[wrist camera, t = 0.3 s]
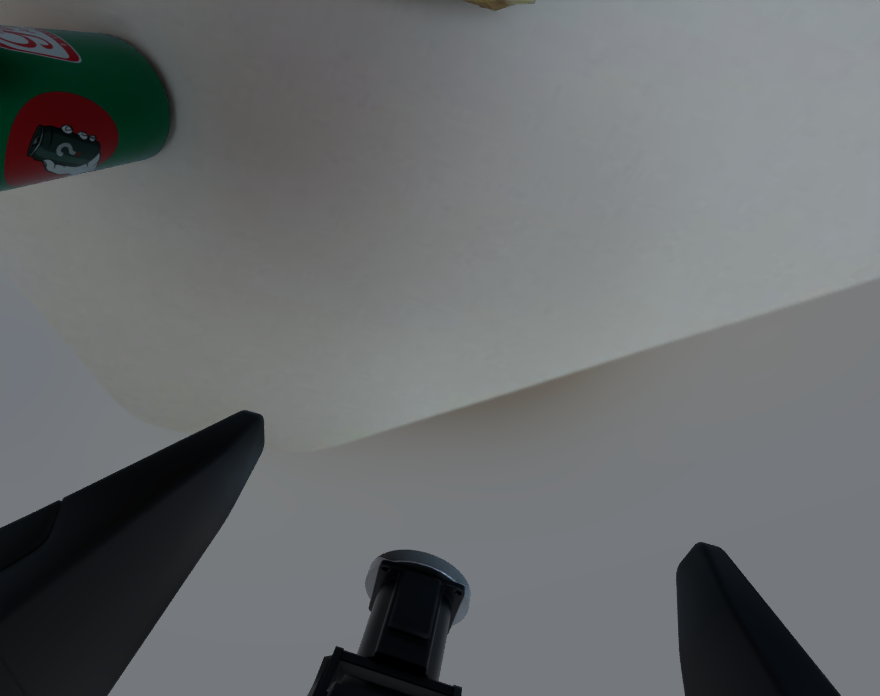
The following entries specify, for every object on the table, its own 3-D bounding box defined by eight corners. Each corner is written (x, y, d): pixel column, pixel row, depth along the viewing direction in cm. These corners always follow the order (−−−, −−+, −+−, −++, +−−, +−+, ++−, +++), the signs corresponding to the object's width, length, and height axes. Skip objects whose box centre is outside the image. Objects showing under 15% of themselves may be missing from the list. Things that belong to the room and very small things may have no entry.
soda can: (155, 28, 20) (-245, -14, 10) (193, 155, 23) (-98, 225, 13) (57, 39, 21) (-393, 13, 11) (104, 160, 24) (-230, 228, 14)
